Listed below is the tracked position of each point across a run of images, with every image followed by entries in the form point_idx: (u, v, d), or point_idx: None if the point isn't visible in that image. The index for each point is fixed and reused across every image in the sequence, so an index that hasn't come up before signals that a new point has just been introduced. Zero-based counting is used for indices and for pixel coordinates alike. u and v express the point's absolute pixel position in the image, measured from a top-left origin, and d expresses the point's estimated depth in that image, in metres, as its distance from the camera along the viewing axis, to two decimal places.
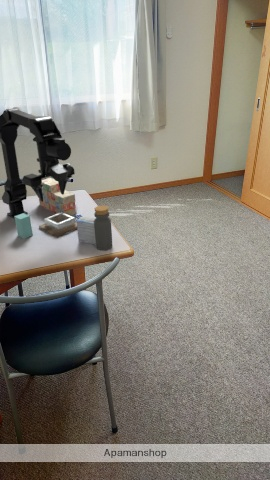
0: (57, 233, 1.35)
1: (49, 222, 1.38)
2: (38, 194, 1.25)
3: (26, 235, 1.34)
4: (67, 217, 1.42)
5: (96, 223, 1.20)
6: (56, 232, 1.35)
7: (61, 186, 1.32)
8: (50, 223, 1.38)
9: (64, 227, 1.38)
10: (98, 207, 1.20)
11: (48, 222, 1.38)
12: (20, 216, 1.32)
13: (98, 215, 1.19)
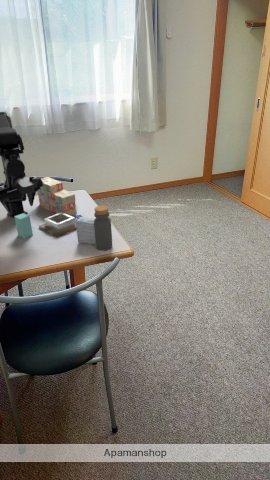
0: (57, 233, 1.35)
1: (49, 222, 1.38)
2: (5, 206, 1.26)
3: (26, 235, 1.34)
4: (67, 217, 1.42)
5: (96, 223, 1.20)
6: (56, 232, 1.35)
7: (30, 198, 1.33)
8: (50, 223, 1.38)
9: (64, 227, 1.38)
10: (98, 207, 1.20)
11: (48, 222, 1.38)
12: (19, 216, 1.32)
13: (98, 215, 1.19)
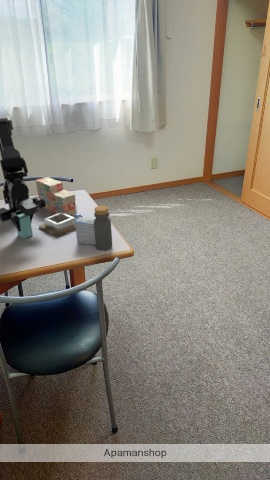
0: (57, 233, 1.35)
1: (49, 222, 1.38)
2: (15, 225, 1.31)
3: (26, 235, 1.34)
4: (67, 217, 1.42)
5: (96, 223, 1.20)
6: (56, 232, 1.35)
7: None
8: (50, 223, 1.38)
9: (64, 227, 1.38)
10: (98, 207, 1.20)
11: (48, 222, 1.38)
12: (19, 216, 1.32)
13: (98, 215, 1.19)
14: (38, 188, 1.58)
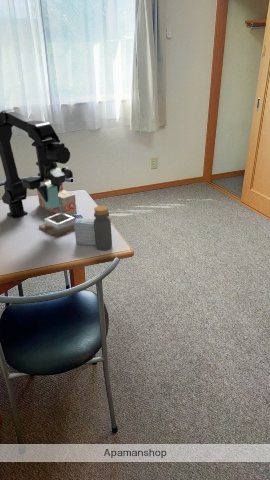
0: (57, 233, 1.35)
1: (49, 222, 1.38)
2: (43, 195, 1.31)
3: (53, 205, 1.34)
4: (67, 217, 1.42)
5: (97, 224, 1.20)
6: (56, 232, 1.35)
7: None
8: (50, 223, 1.38)
9: (64, 227, 1.38)
10: (97, 207, 1.20)
11: (48, 222, 1.38)
12: (47, 187, 1.32)
13: (99, 215, 1.19)
14: None
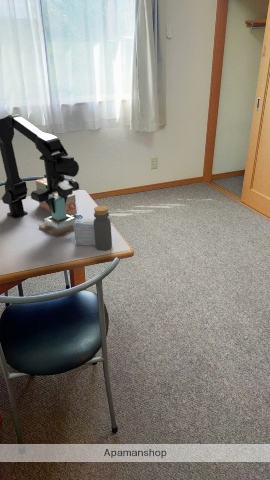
0: (57, 233, 1.35)
1: (49, 222, 1.38)
2: (50, 206, 1.35)
3: (60, 216, 1.38)
4: (67, 217, 1.42)
5: (97, 224, 1.20)
6: (56, 232, 1.35)
7: None
8: (50, 223, 1.38)
9: (64, 227, 1.38)
10: (97, 208, 1.20)
11: (48, 222, 1.38)
12: (55, 198, 1.35)
13: (99, 215, 1.19)
14: (38, 188, 1.58)
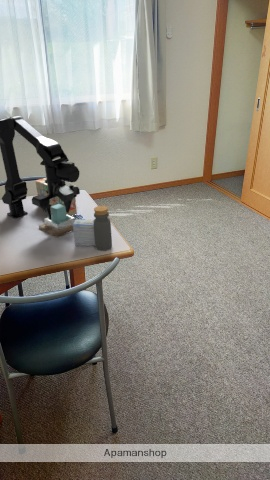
0: (57, 233, 1.35)
1: (49, 222, 1.38)
2: (47, 213, 1.34)
3: None
4: (67, 217, 1.42)
5: (97, 224, 1.20)
6: (56, 232, 1.35)
7: (66, 205, 1.41)
8: (50, 223, 1.38)
9: (64, 227, 1.38)
10: (97, 208, 1.20)
11: (48, 222, 1.38)
12: (56, 207, 1.37)
13: (99, 215, 1.18)
14: (38, 189, 1.58)
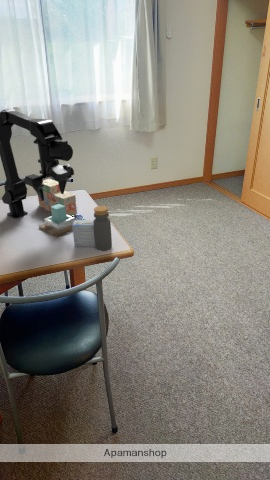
0: (57, 233, 1.35)
1: (49, 222, 1.38)
2: (39, 194, 1.31)
3: None
4: (67, 217, 1.42)
5: (98, 224, 1.19)
6: (56, 232, 1.35)
7: (61, 186, 1.37)
8: (50, 223, 1.38)
9: (64, 227, 1.38)
10: (97, 208, 1.20)
11: (48, 222, 1.38)
12: (56, 207, 1.37)
13: (100, 216, 1.18)
14: None
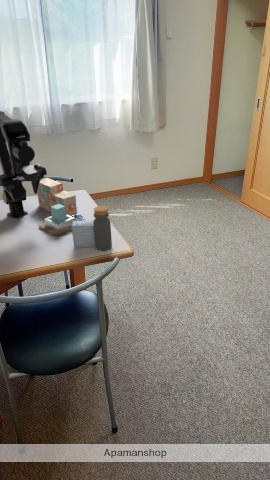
0: (57, 233, 1.35)
1: (49, 222, 1.38)
2: (10, 194, 1.31)
3: None
4: (67, 217, 1.42)
5: (98, 224, 1.19)
6: (56, 232, 1.35)
7: (34, 186, 1.37)
8: (50, 223, 1.38)
9: (64, 227, 1.38)
10: (97, 208, 1.20)
11: (48, 222, 1.38)
12: (56, 207, 1.37)
13: (100, 216, 1.18)
14: (38, 189, 1.57)
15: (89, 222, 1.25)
